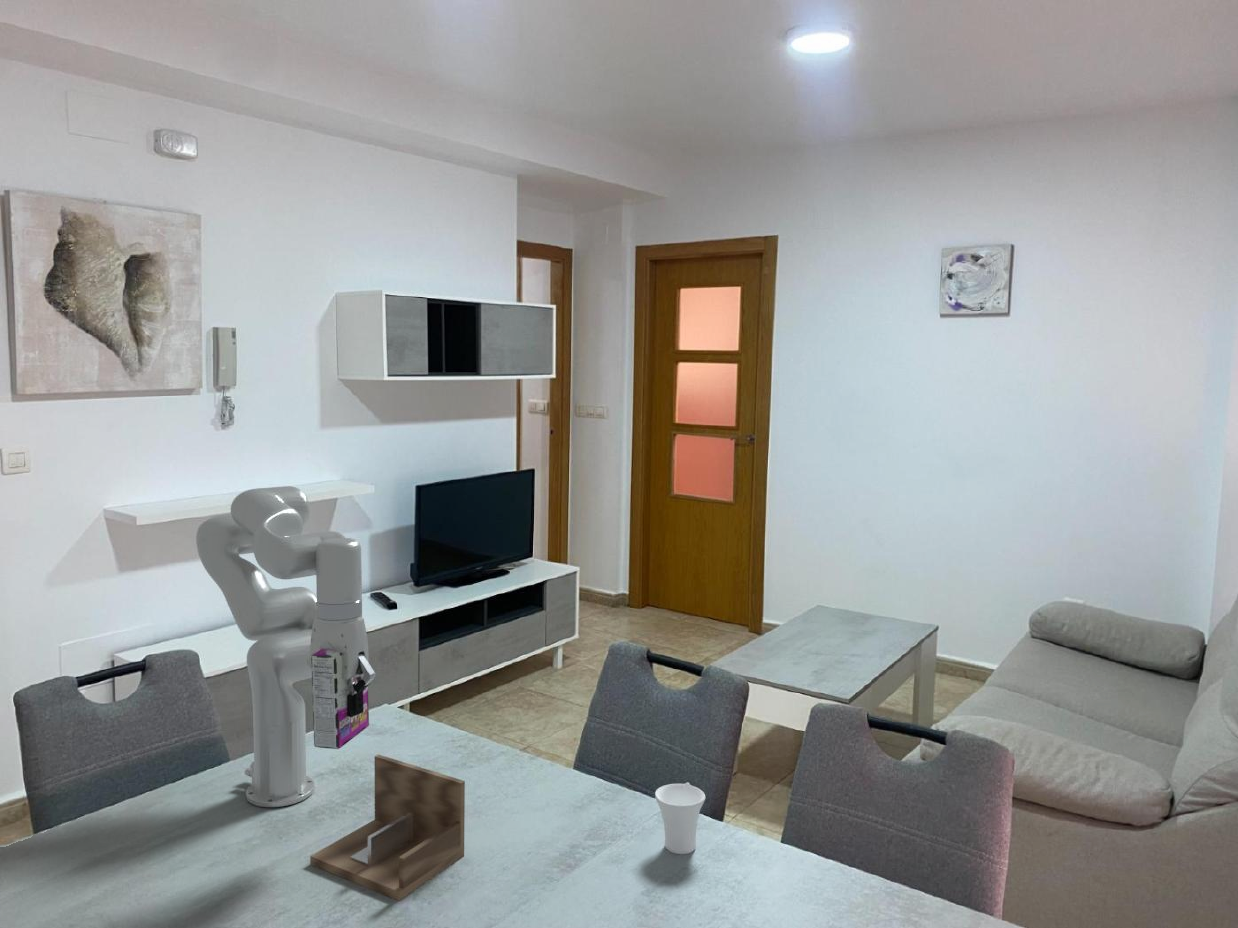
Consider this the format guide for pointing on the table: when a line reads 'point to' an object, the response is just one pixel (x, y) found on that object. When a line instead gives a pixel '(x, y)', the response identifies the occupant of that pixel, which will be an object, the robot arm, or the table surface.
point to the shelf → (433, 830)
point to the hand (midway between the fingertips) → (341, 709)
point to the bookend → (386, 841)
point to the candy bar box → (333, 702)
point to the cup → (680, 815)
